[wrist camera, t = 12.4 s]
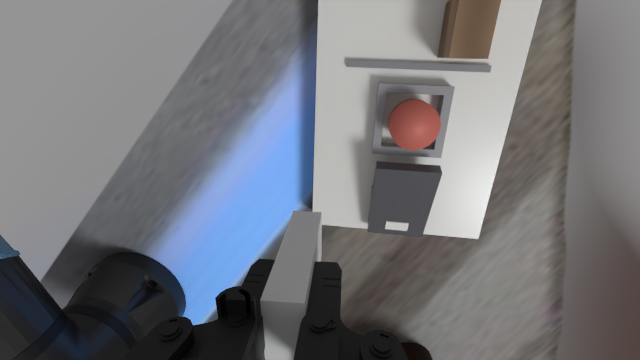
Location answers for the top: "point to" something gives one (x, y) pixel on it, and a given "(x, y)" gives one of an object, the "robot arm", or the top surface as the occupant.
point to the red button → (414, 124)
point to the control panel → (411, 83)
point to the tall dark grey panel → (402, 197)
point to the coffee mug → (416, 351)
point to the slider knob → (468, 29)
